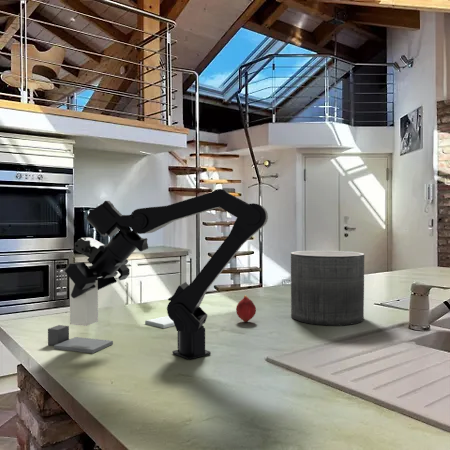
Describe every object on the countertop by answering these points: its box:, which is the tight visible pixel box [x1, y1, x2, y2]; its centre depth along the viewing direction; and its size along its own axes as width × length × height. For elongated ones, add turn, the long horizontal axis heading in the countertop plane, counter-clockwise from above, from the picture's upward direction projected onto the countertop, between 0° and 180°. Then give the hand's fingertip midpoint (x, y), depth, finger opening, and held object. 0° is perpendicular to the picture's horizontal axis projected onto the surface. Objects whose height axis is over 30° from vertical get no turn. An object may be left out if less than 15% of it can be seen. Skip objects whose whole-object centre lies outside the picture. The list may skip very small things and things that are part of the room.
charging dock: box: [47, 324, 114, 354], centre depth 110 cm, size 14×8×4 cm, turn 70°
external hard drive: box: [144, 315, 175, 329], centre depth 135 cm, size 2×8×12 cm
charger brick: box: [69, 277, 99, 327], centre depth 110 cm, size 5×5×12 cm
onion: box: [235, 294, 257, 323], centre depth 135 cm, size 6×6×8 cm
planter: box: [290, 250, 365, 327], centre depth 140 cm, size 22×22×20 cm
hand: (79, 295), depth 110 cm, fingers closed on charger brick, 5 cm apart
